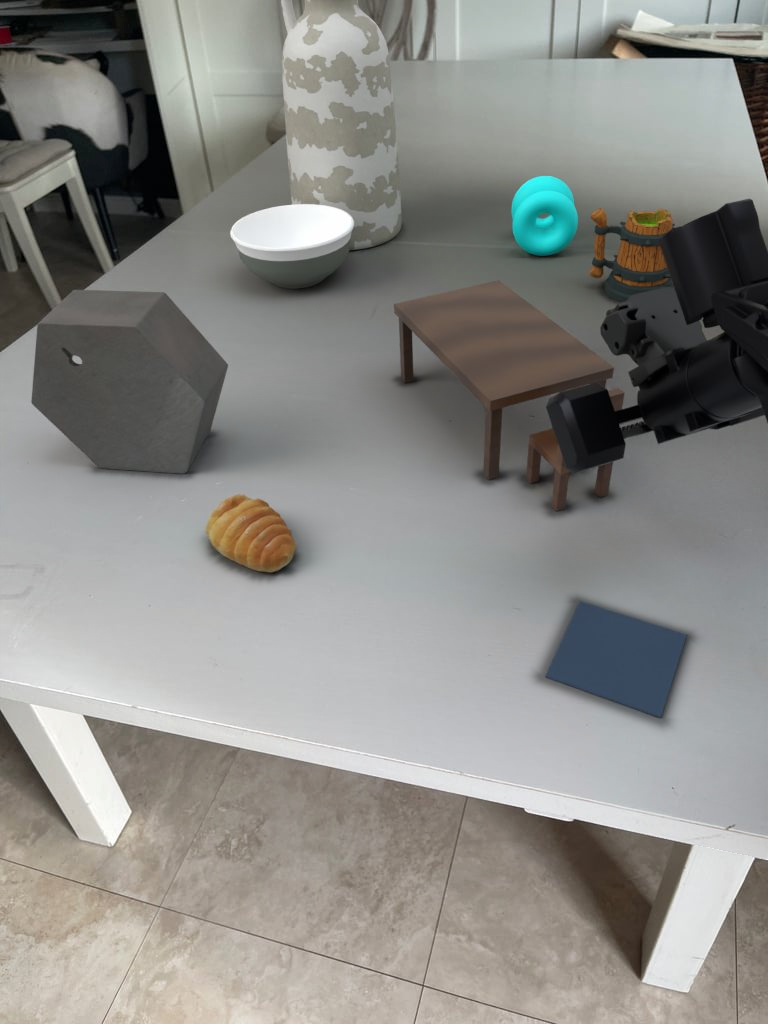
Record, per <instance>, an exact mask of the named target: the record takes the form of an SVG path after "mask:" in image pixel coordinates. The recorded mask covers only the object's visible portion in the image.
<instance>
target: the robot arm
mask: <svg viewBox="0 0 768 1024" xmlns="http://www.w3.org/2000/svg"><path fill="white" fill-rule="evenodd" d="M659 245H660V248H661V251H662V254H663V257H664V260H665V262H666V265H667V268H668V271H669V274H670V277H671V280H672V283H673V286H674V288H672V287H663V288H659V289H655V290H651V291H647V292H643V293H638V294H634V295H632V296H630V297H629V298H628V299H627V301H624V302H621V301H619V302H618V303H617V304H616V305H615V307H613V308H611V309H607V310H606V313H605V317H604V319H603V322H602V323H601V325H600V331H599V332H600V336H601V338H602V339H603V340H604V342H605V344H606V346H607V348H608V349H609V350H610V352H611V354H612V355H614V356H617V357H619V356H622V355H628V356H629V357H630V358H631V360H632V361H633V363H635V364H636V365H637V367H635V368H633V369H631V370H629V371H628V376H629V379H630V382H631V385H632V387H633V388H636V387H638V388H639V390H638V391H637V395H636V403H637V404H636V405H633V406H629V407H625V408H622V410H618V411H614V408H613V405H612V402H611V399H610V396H609V393H608V390H609V389H607V388H606V387H604V386H602V385H601V384H600V383H599V382H596V383H592V384H587V385H584V386H580V387H576V388H573V389H569V390H565V391H562V392H558V393H556V394H555V395H553V396H551V397H550V398H549V400H548V402H547V403H546V406H545V409H546V412H547V414H548V418H549V421H550V424H551V427H552V428H553V430H554V433H555V436H556V439H557V442H558V445H559V448H560V451H561V454H562V457H563V460H564V463H565V466H566V469H567V470H569V471H571V472H570V473H572V474H575V475H576V474H578V473H582V472H585V471H588V470H591V469H595V468H598V466H602V465H605V464H608V463H611V462H613V463H614V462H617V461H620V460H622V459H624V457H625V450H626V445H627V444H626V443H627V442H626V441H627V440H630V439H633V438H637V437H640V436H643V435H647V434H650V433H653V434H654V437H655V439H656V442H657V445H660V444H663V443H666V442H670V441H673V440H676V439H677V440H678V439H680V438H682V437H687V436H690V435H694V434H696V433H699V432H703V431H706V430H720V429H723V428H724V429H725V428H727V427H732V426H736V425H739V424H742V423H745V422H749V421H753V420H756V419H759V418H761V417H765V420H766V423H767V424H768V247H767V245H766V241H765V239H764V236H763V233H762V230H761V226H760V219H759V214H758V212H757V208H756V206H755V202H754V200H753V199H752V198H745V199H741V200H737V201H731V202H727V203H725V204H723V205H722V206H721V207H720V208H718V209H717V210H715V211H712V212H710V213H707V214H705V215H702V216H700V217H698V218H695V219H694V220H691V221H689V222H687V223H686V224H684V225H681V226H677V227H674V228H673V229H671V230H670V231H669V232H667V233H666V234H665V235H664V236H663V237H662V238H661V239H660V241H659ZM702 324H703V325H702ZM718 326H719V327H720V329H721V330H722V331H723V332H721V333H719V334H718V335H716V336H713V337H712V338H710V339H707V338H706V336H705V334H704V332H703V327H704V329H710V328H715V327H718ZM637 420H642V421H639V422H635V421H637ZM630 422H635V423H631V424H628V425H626V426H622V427H621V425H624V424H627V423H630ZM625 440H626V441H625Z"/></svg>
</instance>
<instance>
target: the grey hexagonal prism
mask: <svg viewBox="0 0 768 1024" xmlns="http://www.w3.org/2000/svg"><path fill="white" fill-rule="evenodd" d="M74 356H75V357H78V358H80V360H81V363H78V362H75V361H74V360H73V357H74ZM33 362H34V363H33V375H32V390H31V400H30V401H31V405H33V407H34V408H36V410H37V411H39V412H40V413H41V414H42V415H43V416H44V417H45V418H46V419H47V420H48V421H49V422H50V423H51V424H52V425H53V426H54V427H55V428H56V429H58V431H60V432H61V433H62V434H63V435H64V436H65V437H66V438H67V439H68V440H69V441H70V442H71V443H72V444H73V445H74V446H75V447H76V448H77V449H78V450H80V451H81V453H83V454H84V455H85V456H86V457H87V458H88V459H89V460H90V461H91V462H92V463H93V464H94V465H95V466H96V467H97V468H99V469H107V470H119V471H121V470H122V471H135V472H150V473H151V472H152V473H164V474H165V473H168V474H181V475H183V474H185V473H187V472H188V471H189V469H190V467H191V466H192V464H193V462H194V460H195V459H196V457H197V456H198V454H199V452H200V450H201V448H202V447H203V445H204V443H205V442H206V440H207V438H208V436H209V435H210V434H211V429H212V427H213V422H214V419H215V416H216V413H217V412H216V411H217V408H218V404H219V400H220V397H221V394H222V390H223V387H224V382H225V379H226V375H227V371H228V368H229V364H228V363H227V362H226V360H225V359H224V358H223V356H221V354H220V353H219V352H218V351H217V350H216V349H215V347H214V346H213V345H212V344H211V343H210V342H209V340H208V339H206V337H205V336H204V335H203V334H202V333H201V332H200V330H199V329H198V328H197V327H196V326H195V325H194V323H193V322H192V321H191V320H190V319H189V318H188V317H187V316H186V315H185V313H184V312H183V310H181V308H179V307H178V305H177V304H176V303H175V302H174V301H173V300H172V298H170V296H169V295H168V294H167V292H165V291H164V292H163V291H136V290H135V291H134V290H99V289H98V290H97V289H72V291H71V292H70V293H69V294H68V295H67V296H65V297H64V298H63V299H62V301H60V302H59V303H58V304H57V305H55V307H53V308H52V310H51V311H49V312H48V313H47V314H46V316H44V317H43V318H42V319H41V320H40V321H39V322H38V323H37V327H36V338H35V351H34V361H33Z"/></svg>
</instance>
